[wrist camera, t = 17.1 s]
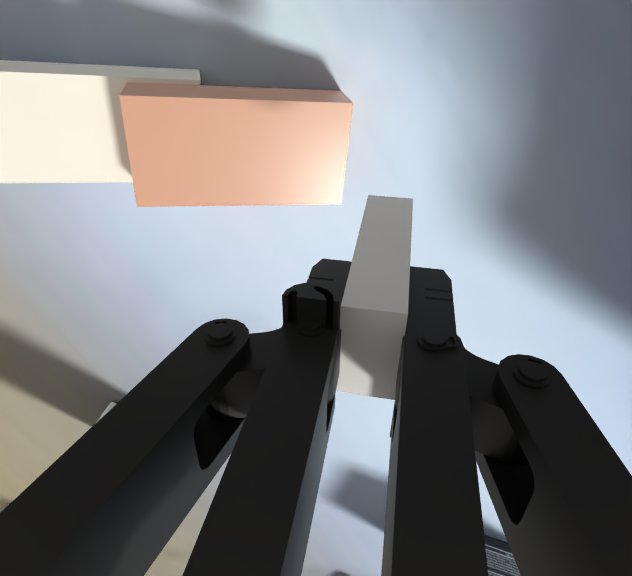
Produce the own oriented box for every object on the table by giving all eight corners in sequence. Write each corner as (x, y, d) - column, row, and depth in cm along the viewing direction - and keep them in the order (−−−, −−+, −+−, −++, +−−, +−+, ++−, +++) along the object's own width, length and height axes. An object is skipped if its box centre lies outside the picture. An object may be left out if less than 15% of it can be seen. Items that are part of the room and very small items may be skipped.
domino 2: (352, 103, 21) (119, 95, 19) (341, 204, 24) (137, 206, 22) (341, 90, 23) (127, 82, 21) (331, 185, 26) (142, 186, 24)
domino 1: (200, 79, 22) (-47, 69, 19) (205, 181, 24) (-9, 183, 22) (199, 69, 23) (-27, 58, 21) (204, 164, 26) (6, 164, 24)
